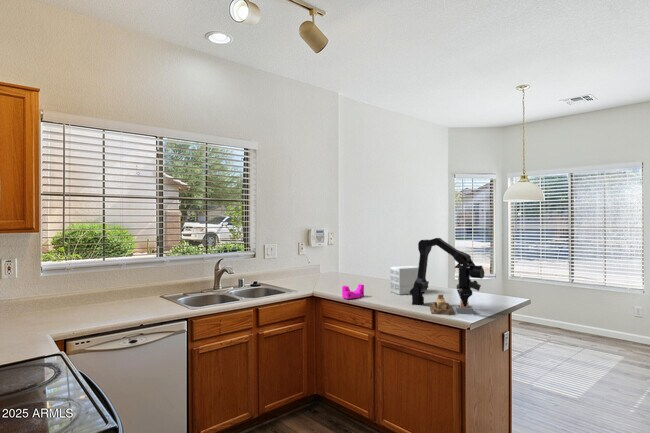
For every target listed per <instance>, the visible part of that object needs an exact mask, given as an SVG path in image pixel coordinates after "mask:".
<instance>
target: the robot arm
mask: <svg viewBox="0 0 650 433" xmlns="http://www.w3.org/2000/svg"><path fill="white" fill-rule="evenodd" d="M417 246H418V247H417V248H418V249H417V250H418V252H419V262H418V267H419V268H418V276H417V279H416V280H415V283H414V286H413V288H412V289H411V290H410V294H409V295H411V298H412V300H411V301H412V302H411V305H412V306H424V305H425V296H424V295H425V292H426V291H427V290H428V288H429V283H430V282H429V281H427V278H426V277H427V268H428V259H429V254H430V253H431V251H432V248H433V247H435V246H437V247H439V248H440V249H441V250H443V251H444V252H445V253H447V254H448V255H450V256H452V258H453V259H454V260H455V262H456V263H457V264H456V265H455V266H454V268H455V269H458V277H457V278H458V284H457V285H456V292H457V293H458V297H459V300H460V301H462V302H463V305H464V307H466V306H467V302H469V298H470V297H472V296H473V290H476V291H477V292H479V291H480V289H481V284H480V283H478V281H477V280H475V279H483V278H484V277H485V270H484V268H483V265H476V264H475V263H474V261H473V259H472V257H471V255H470V254H469V253H467V252H464V251H461V250H458V249H457V248H455V247H454V246H452V245H451V244H449V243H448V242H447V241H445V240H443V239H442V237H441V238H440V237H435V238H432V239H420V240H419V241H418V243H417ZM470 277H471V278H473V279H474V280H473V281H472V280H471V278H470ZM472 289H473V290H472Z"/></svg>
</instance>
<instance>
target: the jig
mask: <svg viewBox="0 0 650 433" xmlns="http://www.w3.org/2000/svg"><path fill="white" fill-rule="evenodd" d="M429 310H430V313H431V315H447V316H455V312H454V310H453V307H452V305H450V303H449V302H446V310H444V309H438V308H437V301H432V304H429Z"/></svg>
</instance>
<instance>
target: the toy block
mask: <svg viewBox="0 0 650 433" xmlns="http://www.w3.org/2000/svg"><path fill="white" fill-rule="evenodd" d="M364 296H365V285H364V284H363V283H362V284H361V283H359V284H358V285H357V288H356V289H355V290H354V291H352V290H350V287H349V286H348V285H342V286H341V297H342V298H344V299H347V300H349V299H350V300H351V299H359V298H361V297H364Z"/></svg>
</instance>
